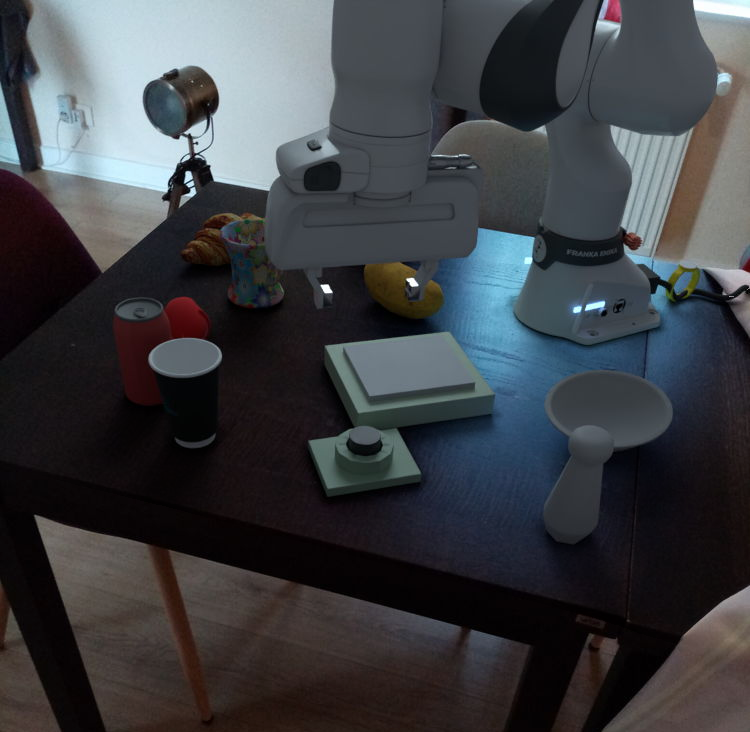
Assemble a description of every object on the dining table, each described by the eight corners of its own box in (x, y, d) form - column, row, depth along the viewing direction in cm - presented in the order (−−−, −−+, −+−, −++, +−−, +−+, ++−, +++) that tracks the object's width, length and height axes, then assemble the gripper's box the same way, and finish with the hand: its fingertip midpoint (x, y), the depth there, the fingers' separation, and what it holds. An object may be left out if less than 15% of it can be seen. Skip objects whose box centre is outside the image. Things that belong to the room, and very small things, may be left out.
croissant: (270, 248, 141) (255, 203, 138) (306, 238, 134) (290, 190, 131) (176, 283, 128) (156, 234, 125) (209, 274, 121) (190, 221, 118)
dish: (616, 499, 89) (628, 465, 85) (511, 443, 95) (518, 410, 92) (683, 433, 99) (696, 400, 96) (584, 387, 106) (593, 355, 102)
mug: (214, 295, 120) (207, 227, 113) (265, 280, 124) (262, 214, 117) (256, 327, 113) (252, 258, 106) (309, 310, 118) (308, 242, 111)
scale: (446, 350, 111) (450, 326, 109) (492, 413, 100) (496, 389, 97) (324, 364, 107) (324, 340, 104) (357, 433, 95) (358, 407, 93)
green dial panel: (395, 435, 95) (397, 415, 93) (420, 481, 89) (423, 461, 87) (308, 448, 93) (307, 428, 91) (327, 497, 86) (327, 476, 84)
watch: (683, 291, 129) (695, 257, 125) (696, 298, 127) (709, 264, 123) (657, 298, 127) (669, 263, 123) (670, 306, 125) (682, 271, 121)
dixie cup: (147, 445, 91) (133, 364, 84) (183, 410, 97) (173, 331, 90) (207, 463, 90) (198, 382, 82) (240, 426, 95) (234, 347, 88)
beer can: (133, 413, 96) (117, 326, 88) (120, 386, 100) (103, 300, 92) (186, 401, 98) (174, 315, 91) (170, 375, 103) (158, 291, 95)
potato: (413, 338, 113) (418, 293, 108) (352, 299, 121) (353, 255, 116) (449, 324, 117) (455, 280, 112) (387, 287, 125) (390, 244, 120)
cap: (219, 350, 108) (216, 310, 104) (177, 360, 106) (172, 320, 102) (198, 323, 113) (194, 285, 109) (158, 332, 111) (152, 293, 107)
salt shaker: (592, 554, 82) (625, 457, 73) (537, 545, 82) (563, 447, 74) (592, 517, 86) (623, 421, 77) (540, 508, 87) (565, 412, 78)
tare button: (374, 435, 91) (375, 423, 90) (384, 454, 88) (385, 442, 87) (344, 440, 90) (345, 427, 89) (353, 459, 87) (354, 446, 86)
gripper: (473, 142, 74) (454, 280, 83) (258, 148, 68) (262, 295, 77) (501, 165, 69) (477, 308, 78) (272, 173, 64) (275, 326, 73)
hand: (369, 302), depth 78 cm, fingers open, 8 cm apart
